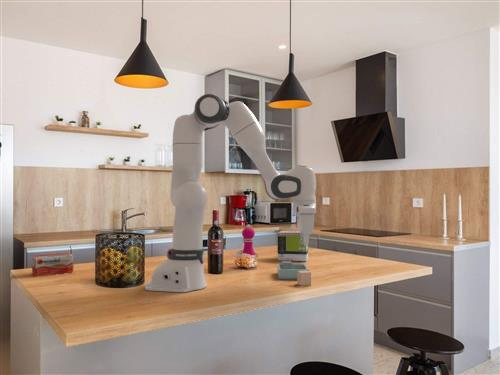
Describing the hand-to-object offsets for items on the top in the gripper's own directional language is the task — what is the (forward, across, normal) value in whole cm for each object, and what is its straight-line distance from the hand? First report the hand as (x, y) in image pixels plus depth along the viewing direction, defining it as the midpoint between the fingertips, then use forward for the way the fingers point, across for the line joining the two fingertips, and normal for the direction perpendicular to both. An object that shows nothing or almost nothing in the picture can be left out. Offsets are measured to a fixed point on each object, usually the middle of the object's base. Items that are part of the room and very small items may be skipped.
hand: (304, 243), depth 157 cm
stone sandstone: (+16, 0, 0) cm, 16 cm away
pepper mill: (+16, -35, -22) cm, 44 cm away
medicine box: (+15, -18, -106) cm, 108 cm away
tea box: (+16, -57, +1) cm, 59 cm away
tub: (+15, -15, -3) cm, 22 cm away
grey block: (+15, -17, -6) cm, 23 cm away
